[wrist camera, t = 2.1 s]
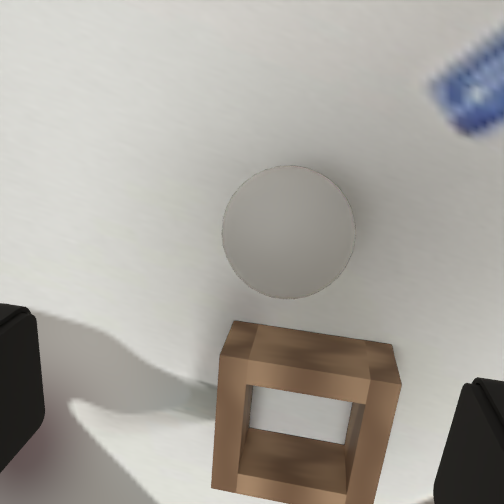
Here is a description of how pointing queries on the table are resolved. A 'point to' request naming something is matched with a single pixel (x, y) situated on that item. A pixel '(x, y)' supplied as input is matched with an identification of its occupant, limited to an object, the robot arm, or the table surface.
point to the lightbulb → (288, 232)
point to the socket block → (311, 383)
